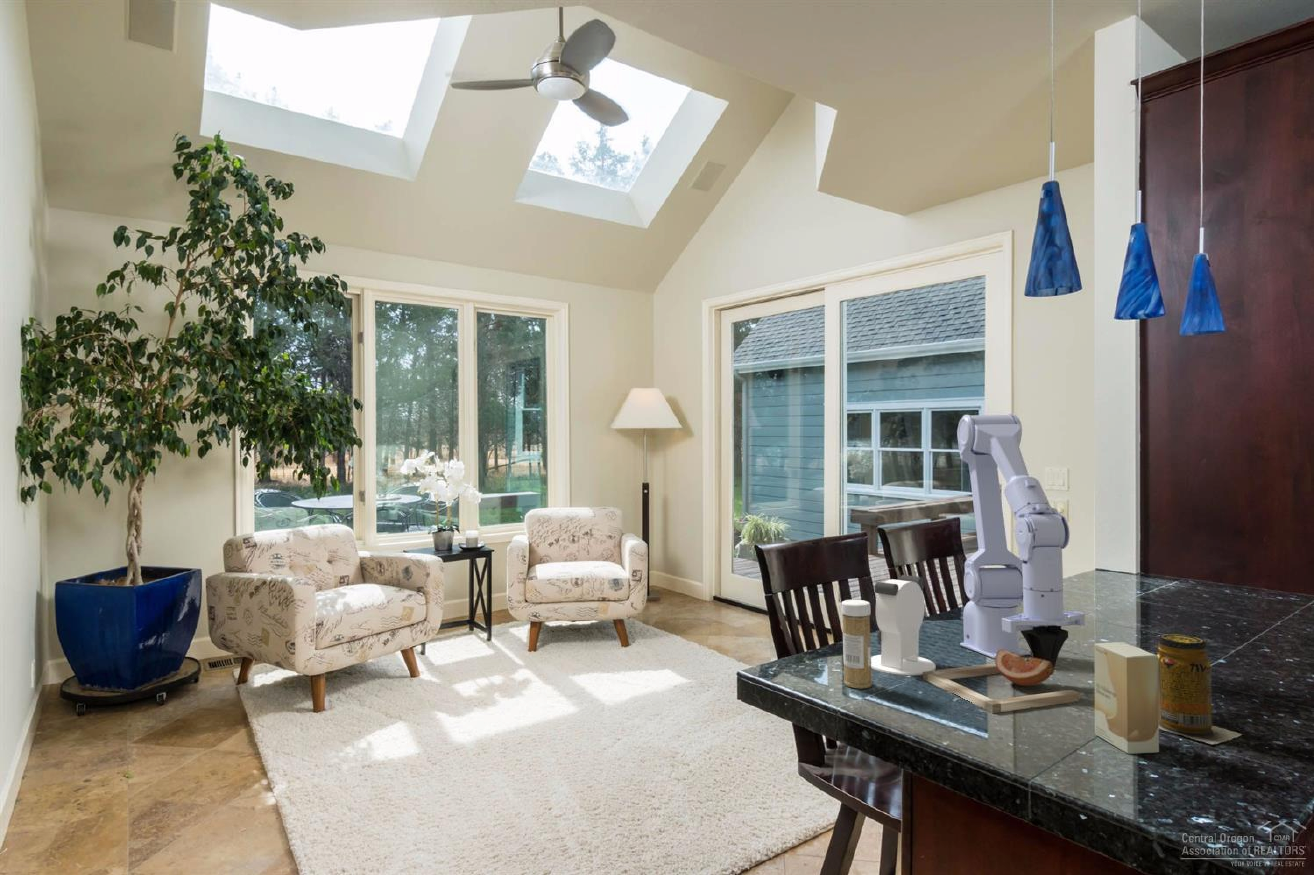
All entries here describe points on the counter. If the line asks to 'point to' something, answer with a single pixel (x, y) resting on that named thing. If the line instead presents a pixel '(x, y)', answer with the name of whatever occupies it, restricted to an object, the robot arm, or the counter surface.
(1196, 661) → the condiment
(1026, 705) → the frame
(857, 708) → the counter surface
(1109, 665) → the skincare box
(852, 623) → the brown spice jar
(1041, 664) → the fruit slice
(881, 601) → the white two-tone upright fixture
